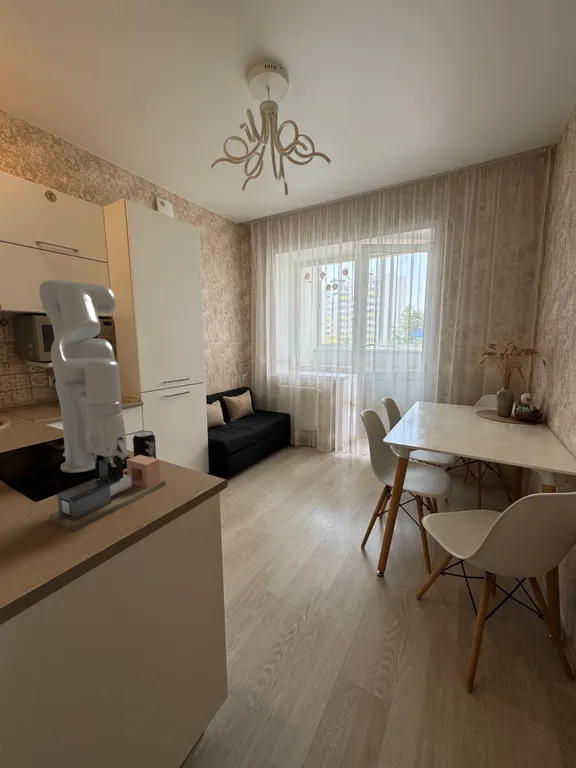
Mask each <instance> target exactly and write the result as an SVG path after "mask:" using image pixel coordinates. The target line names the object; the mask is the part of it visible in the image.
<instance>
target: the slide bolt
mask: <svg viewBox="0 0 576 768" xmlns="http://www.w3.org/2000/svg"><path fill="white" fill-rule="evenodd" d="M116 459H117V458H115V460H116ZM98 462H99V476H100V477H99V480H101V481H104V482H107V483H110V494H111V496H112V495H114V494H117V493H119V492H121V491H123V490H125V489H127V488H129V487H132V486H131V476H129V475H128V474H125V473H123V478H122V479H120V480H117V481H115V482H111V480H110V467H112V466H111V462H110V459H109V457H106V458H105V459H103V460H100V461H98ZM61 503H62V512H64V513H66V514H69V515H71V510H70V501H67V500H65V499H62V500H61Z"/></svg>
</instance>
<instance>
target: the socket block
mask: <svg viewBox="0 0 576 768" xmlns="http://www.w3.org/2000/svg"><path fill="white" fill-rule="evenodd" d="M126 470H127V474H126V475H129V476H131V483H133V484H136V485H139V486H142V487H145V488H149V487H151V486H153V485H155V484H157V483H159V482H160V480H161V476H160V474H161V473H160V472H161V471H160V459H159V458H156V459H155V458H151V457H147V456H143V455H138V456H135V457H134V456H132V457H130V458H126Z"/></svg>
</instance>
